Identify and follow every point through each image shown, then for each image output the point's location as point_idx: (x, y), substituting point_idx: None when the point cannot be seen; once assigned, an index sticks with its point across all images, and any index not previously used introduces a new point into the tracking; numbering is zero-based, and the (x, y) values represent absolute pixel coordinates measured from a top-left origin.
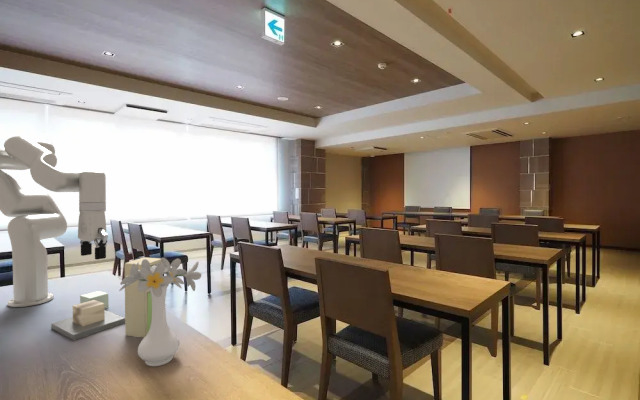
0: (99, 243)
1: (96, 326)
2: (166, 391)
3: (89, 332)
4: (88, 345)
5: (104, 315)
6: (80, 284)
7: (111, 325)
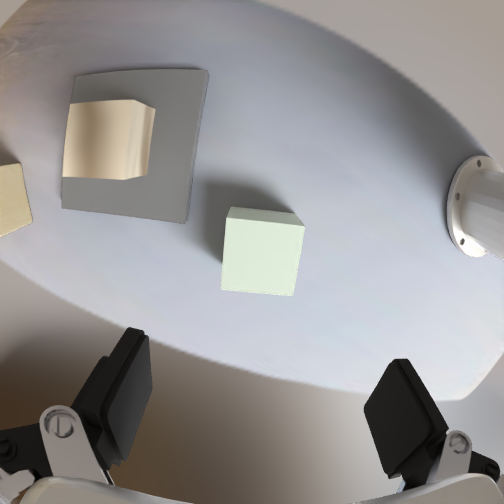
0: (40, 449)
1: None
2: None
3: None
4: (41, 92)
5: (119, 189)
6: (465, 340)
7: None
